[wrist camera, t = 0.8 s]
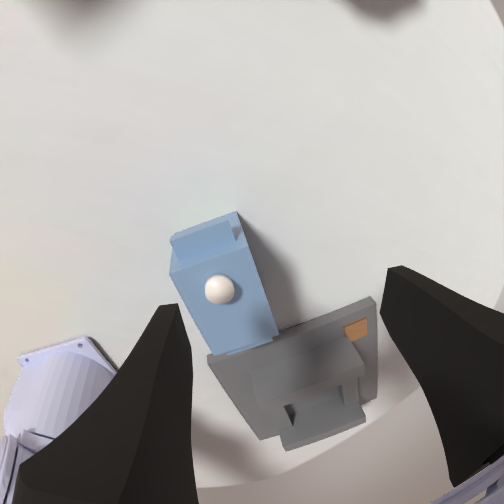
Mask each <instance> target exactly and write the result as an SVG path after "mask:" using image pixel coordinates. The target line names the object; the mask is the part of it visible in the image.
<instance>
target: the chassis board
mask: <svg viewBox="0 0 504 504" xmlns="http://www.w3.org/2000/svg"><path fill="white" fill-rule="evenodd" d="M272 339H273V341H271V342H268V343H265V344H262V345H259V346H256V347H253V348H250V349H247V350H244V351H240V352H237V353H234V354H231V355H228V356H227V354H226V352H225V353H222V354H219V355H216V356H214V355H213V354H210V355H207V362H208V365H209V367H210V369H211V370H212V372H213V373H214V375H215V376H216V378H217V379H218V381H219V382H220V384H221V386H222V387H223V389H224V390H225V392H226V393H227V395H228V396H229V398H230V399H231V400H232V402H233V403H234V405H235V406H236V408H237V409H238V411H239V412H240V414H241V415H242V416H243V418H244V419H245V421H246V422H247V423H248V425H249V426H250V428H251V429H252V430H253V432H254V433H255V435H256V436H257V437H258V439H259V440H263V439H267V438H270V437H274V436H277V435H280V438H281V441H282V445H283V447H284V449H285V451H289V450H293V449H296V448H299V447H302V446H305V445H308V444H311V443H314V442H317V441H320V440H322V439H325V438H328V437H330V436H333V435H336V434H338V433H341V432H343V431H346V430H348V429H351V428H353V427H355V426H358V425H360V424H362V423H365V422H366V415H365V413H364V411H363V409H362V407H361V404H364V403H366V402H368V401H370V400H373V399H375V398H376V397H377V320H376V303H375V302H374V300H373V299H372V298H371V297H367V298H365V299H363V300H360V301H358V302H355V303H353V304H351V305H348V306H346V307H343V308H341V309H338V310H336V311H333V312H331V313H328V314H326V315H323V316H320V317H318V318H315V319H313V320H310V321H307V322H305V323H302V324H299V325H297V326H294V327H291V328H288V329H286V330H283V331H280V332H279V335H277V336H274V337H272Z"/></svg>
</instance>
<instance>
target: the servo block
mask: <svg viewBox="0 0 504 504" xmlns="http://www.w3.org/2000/svg"><path fill="white" fill-rule="evenodd" d="M170 243H171V245H172V247H173V249H172V256H171V263H170V271H169V275H170V277H171V279H172V281H173V283H174V285H175V287H176V289H177V290H178V292H179V294H180V296H181V298H182V300H183V302H184V304H185V305H186V307H187V309H188V311H189V313H190V315H191V316H192V318H193V320H194V322H195V324H196V326H197V327H198V329H199V331H200V333H201V334H202V336H203V338H204V340H205V341H206V343H207V345H208V347H209V348H210V350H211V352H212V353H213V355H214V356H216V355H219V354H222V353H225V352H226V354H227V356H228V355H231V354H234V353H237V352H240V351H244V350H247V349H250V348H253V347H256V346H259V345H262V344H265V343H268V342H271V341H273V339H272V337H274V336H277V335H279V332H278V329H277V326H276V323H275V320H274V317H273V315H272V312H271V309H270V306H269V303H268V300H267V297H266V295H265V292H264V289H263V286H262V283H261V280H260V277H259V275H258V272H257V269H256V266H255V263H254V260H253V257H252V255H251V252H250V249H249V246H248V243H247V240H246V238H245V235H244V232H243V229H242V226H241V224H240V221H239V218H238V215H237V212H236V211H235V212H232V213H229V214H226V215H224V216H221V217H218V218H215V219H212V220H210V221H207V222H204V223H201V224H199V225H196V226H193V227H191V228H188V229H185V230H182V231H180V232H177V233H175V235H173V236H171V237H170Z"/></svg>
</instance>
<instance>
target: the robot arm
mask: <svg viewBox="0 0 504 504" xmlns="http://www.w3.org/2000/svg"><path fill="white" fill-rule="evenodd" d="M380 315H381V317H382V319H383V322H384V324H385V326H386V328H387V330H388V332H389V334H390V336H391V338H392V340H393V341H394V343H395V344H396V346H397V348H398V349H399V351H400V352H401V354H402V356H403V357H404V359H405V360H406V362H407V363H408V365H409V367H410V368H411V370H412V372H413V373H414V375H415V376H416V378H417V380H418V382H419V383H420V385H421V387H422V389H423V391H424V393H425V396H426V398H427V401H428V403H429V405H430V408H431V410H432V413H433V415H434V418H435V421H436V424H437V427H438V430H439V433H440V436H441V440H442V443H443V447H444V451H445V456H446V460H447V465H448V471H449V478H450V481H451V483H452V485H453V487H456V486H458V485H460V484H461V483H463V482H464V481H466V480H468V479H469V478H471V477H472V476H474V475H475V474H477V473H478V472H480V471H481V470H483V469H484V468H486V467H487V466H489V465H490V466H489V467H487V468H486V469H484V470H483V471H481V472H480V473H478V474H477V475H476V476H474V477H472V478H471V479H469V480H468V481H466V482H465V483H463V484H461V485H460V486H458V487H456V488H455V489H453V490H451V491H450V492H448V493H447V494H444V495H443V496H441V497H439V498H437V499H435V500H433V501H431V502H429V503H427V504H464V503H466V502H467V501H469V500H470V499H472V498H473V497H475V496H476V495H478V494H479V493H480V492H482V491H484V490H485V489H486V488H487V492H486V495H485V497H483V498H482V499H480V500H479V501H477V502H475V503H474V504H504V314H503V313H501V312H498V311H496V310H493V309H491V308H488V307H486V306H483V305H481V304H479V303H477V302H475V301H473V300H470V299H468V298H466V297H464V296H462V295H460V294H458V293H456V292H454V291H452V290H450V289H448V288H446V287H445V286H443V285H441V284H439V283H437V282H435V281H433V280H431V279H429V278H427V277H426V276H424V275H422V274H420V273H418V272H416V271H414V270H411V269H409V268H407V267H404V266H397V267H392V268H388V270H387V276H386V282H385V288H384V293H383V299H382V304H381V309H380ZM81 344H82V345H81ZM17 361H18V363H19V364H20V365H21V366H22V369H21V371H20V374H19V376H18V378H17V381H16V383H15V385H14V388H13V390H12V393H11V395H10V398H9V401H8V403H7V406H6V409H5V412H4V429H5V433H6V436H3V437H1V438H0V504H199V503H198V497H197V491H196V483H195V476H194V468H193V458H192V448H191V409H192V386H193V366H192V352H191V345H190V342H189V339H188V336H187V333H186V330H185V326H184V323H183V320H182V316H181V313H180V309H179V306H178V303H176V304H168V305H160V306H159V307H158V308H157V310H156V312H155V313H154V315H153V317H152V318H151V320H150V322H149V323H148V325H147V327H146V329H145V330H144V332H143V334H142V335H141V337H140V338H139V340H138V342H137V343H136V345H135V346H134V348H133V350H132V351H131V353H130V354H129V356H128V357H127V359H126V360H125V362H124V363H123V365H122V366H121V367H120V369H119V370H118V372H116V370H115V369H114V368H113V367H112V366H111V365H110V363H109V362H108V361H107V360H106V359H105V357H104V356H103V355H102V354H101V352H100V351H99V350H98V349H97V347H96V346H95V345H94V344H93V342H92V341H91V340H90V339H89V338H87V337H82V338H78V339H75V340H72V341H68V342H65V343H62V344H58V345H55V346H51V347H48V348H45V349H41V350H38V351H34V352H31V353H27V354H24V355H20V356H18V358H17Z"/></svg>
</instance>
